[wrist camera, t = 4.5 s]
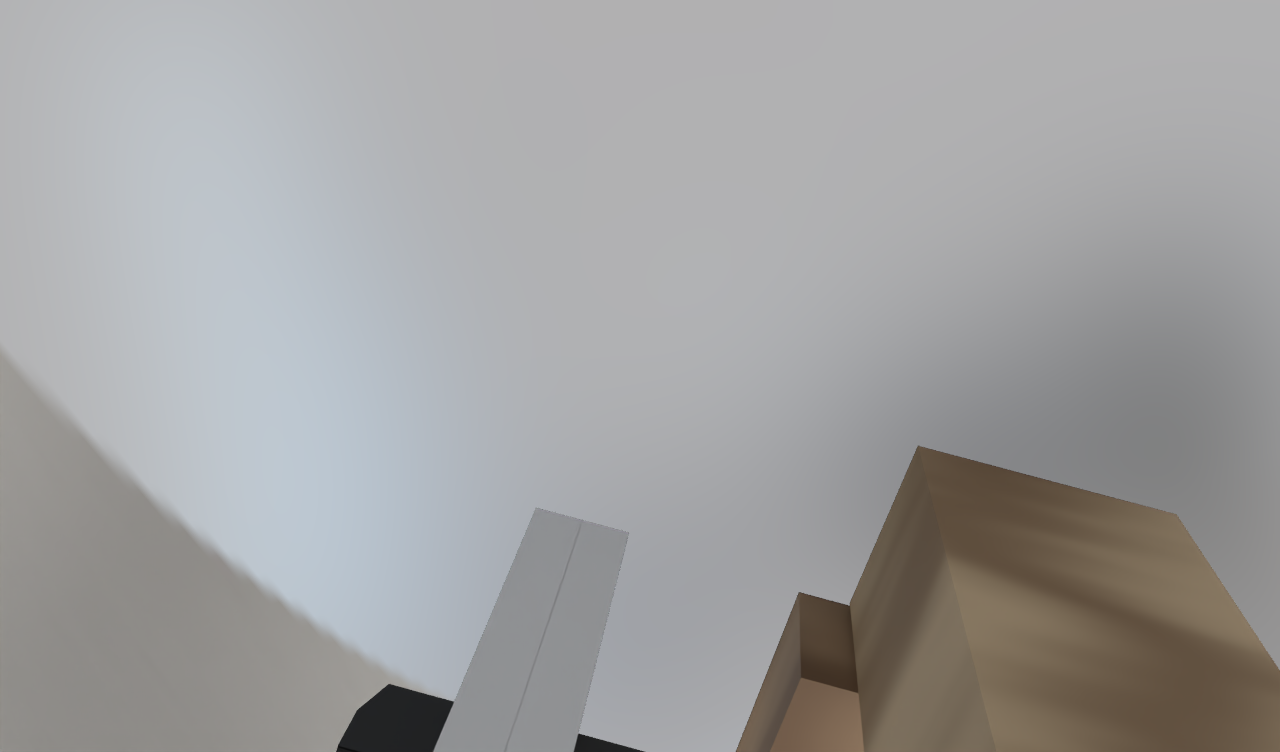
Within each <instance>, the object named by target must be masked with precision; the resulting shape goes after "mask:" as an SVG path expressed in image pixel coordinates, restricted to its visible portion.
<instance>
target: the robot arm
mask: <svg viewBox="0 0 1280 752" xmlns="http://www.w3.org/2000/svg"><path fill="white" fill-rule="evenodd" d="M628 535H629V533H628V532H624V531H621V530H617V529H614V528H609V527H606V526H602V525H599V524H595V523H591V522H587V521H583V520H580V519H576V518H573V517H569V516H565V515H561V514H557V513H553V512H550V511H546V510H543V509H539V508H536V510H535V512H534V514H533V517H532V519H531V521H530V523H529V526H528V528H527V530H526V533H525V535H524V538H523V540H522V542H521V545H520V547H519V549H518V552H517V554H516V557H515V559H514V562H513V564H512V566H511V568H510V571H509V573H508V576H507V578H506V580H505V583H504V585H503V587H502V590H501V592H500V595H499V597H498V599H497V602H496V604H495V606H494V609H493V611H492V614H491V616H490V618H489V621H488V623H487V625H486V628H485V630H484V632H483V635H482V637H481V640H480V642H479V644H478V647H477V649H476V652H475V654H474V656H473V658H472V661H471V663H470V666H469V668H468V670H467V673H466V675H465V677H464V680H463V682H462V685H461V687H460V689H459V692H458V694H457V696H456V699H455V701H454V702H453V701H449V700H446V699H442V698H438V697H435V696H431V695H427V694H424V693H420V692H416V691H413V690H409V689H405V688H402V687H398V686H395V685H391V684H388V685H387V686H386V687H385V688H383V689H382V690H381V691H380V692H379V693H377V694H376V695H375V696H374V697H373V698H371V699H370V700H369V701H368V702H367V703H365V704H364V705H363V706H362V707H361V708H359V709H358V710H357V711H356V713H355V715H354V717H353V719H352V721H351V723H350V724H349V726H348V728H347V730H346V732H345V734H344V736H343V737H342V739H341V741H340V743H339V745H338V748H337V751H336V752H644V751H640V750H637V749H633V748H629V747H626V746H622V745H618V744H614V743H611V742H607V741H604V740H600V739H596V738H593V737H589V736H585V735H582V734H578V732H579V728H580V724H581V721H582V717H583V712H584V709H585V705H586V701H587V697H588V693H589V689H590V685H591V681H592V677H593V673H594V669H595V665H596V661H597V657H598V653H599V649H600V646H601V642H602V638H603V633H604V630H605V626H606V622H607V618H608V614H609V610H610V605H611V602H612V598H613V594H614V590H615V586H616V582H617V578H618V574H619V571H620V566H621V563H622V559H623V555H624V551H625V547H626V543H627V539H628Z"/></svg>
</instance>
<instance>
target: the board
mask: <svg viewBox="0 0 1280 752" xmlns="http://www.w3.org/2000/svg"><path fill="white" fill-rule="evenodd" d="M736 752H864V744H863V734H862V723H861V713H860V703H859V693H858V682H857V672H856V662H855V652H854V641H853V631H852V621H851V611H850V606H848V605H845V604H841V603H837V602H834V601H829V600H826V599H822V598H819V597H815V596H811V595H808V594H804V593H800V592H799V594H798V596H797V599H796V601H795V604H794V606H793V609H792V611H791V614H790V616H789V619H788V621H787V624H786V626H785V629H784V631H783V634H782V636H781V639H780V641H779V644H778V646H777V649H776V651H775V654H774V657H773V659H772V662H771V664H770V667H769V669H768V672H767V674H766V677H765V679H764V682H763V684H762V687H761V689H760V692H759V694H758V697H757V699H756V702H755V705H754V707H753V710H752V712H751V715H750V717H749V720H748V722H747V725H746V727H745V730H744V732H743V735H742V738H741V740H740V742H739V745H738V747H737V750H736Z"/></svg>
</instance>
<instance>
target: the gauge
mask: <svg viewBox="0 0 1280 752" xmlns="http://www.w3.org/2000/svg"><path fill="white" fill-rule="evenodd" d="M850 611H851V621H852V631H853V641H854V652H855V662H856V672H857V682H858V693H859V703H860V713H861V723H862V734H863V744H864V752H1280V670H1279V669H1278V667H1277V666H1276V664H1275V663H1274V661H1273V660H1272V658H1271V657H1270V655H1269V654H1268V652H1267V651H1266V649H1265V648H1264V646H1263V645H1262V643H1261V642H1260V640H1259V638H1258V637H1257V635H1256V634H1255V633H1254V631H1253V629H1252V628H1251V627H1250V625H1249V623H1248V622H1247V620H1246V619H1245V617H1244V616H1243V614H1242V613H1241V611H1240V610H1239V608H1238V607H1237V605H1236V604H1235V602H1234V601H1233V599H1232V598H1231V596H1230V595H1229V593H1228V592H1227V590H1226V589H1225V587H1224V586H1223V584H1222V583H1221V581H1220V579H1219V578H1218V577H1217V575H1216V573H1215V572H1214V570H1213V569H1212V567H1211V566H1210V564H1209V563H1208V561H1207V560H1206V558H1205V557H1204V555H1203V554H1202V552H1201V551H1200V549H1199V548H1198V546H1197V545H1196V543H1195V542H1194V541H1193V539H1192V537H1191V536H1190V534H1189V533H1188V531H1187V530H1186V528H1185V527H1184V525H1183V524H1182V522H1181V521H1180V519H1179V517H1178V516H1177V515H1176V514H1173V513H1169V512H1165V511H1162V510H1158V509H1154V508H1150V507H1146V506H1142V505H1139V504H1135V503H1131V502H1128V501H1124V500H1120V499H1116V498H1113V497H1109V496H1105V495H1101V494H1098V493H1093V492H1090V491H1086V490H1082V489H1079V488H1075V487H1071V486H1067V485H1063V484H1060V483H1056V482H1052V481H1049V480H1045V479H1041V478H1037V477H1034V476H1030V475H1026V474H1022V473H1018V472H1014V471H1011V470H1007V469H1003V468H1000V467H996V466H992V465H988V464H984V463H981V462H977V461H973V460H970V459H966V458H962V457H958V456H954V455H950V454H947V453H943V452H939V451H936V450H932V449H928V448H924V447H920V446H918V447H917V449H916V452H915V454H914V456H913V459H912V461H911V463H910V466H909V468H908V470H907V472H906V475H905V477H904V479H903V482H902V484H901V486H900V489H899V491H898V493H897V495H896V498H895V500H894V502H893V505H892V507H891V510H890V512H889V514H888V516H887V519H886V521H885V523H884V525H883V528H882V530H881V532H880V535H879V537H878V539H877V542H876V544H875V546H874V548H873V551H872V553H871V555H870V558H869V560H868V562H867V565H866V567H865V569H864V572H863V574H862V576H861V578H860V581H859V583H858V586H857V588H856V590H855V592H854V595H853V597H852V599H851V602H850Z"/></svg>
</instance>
